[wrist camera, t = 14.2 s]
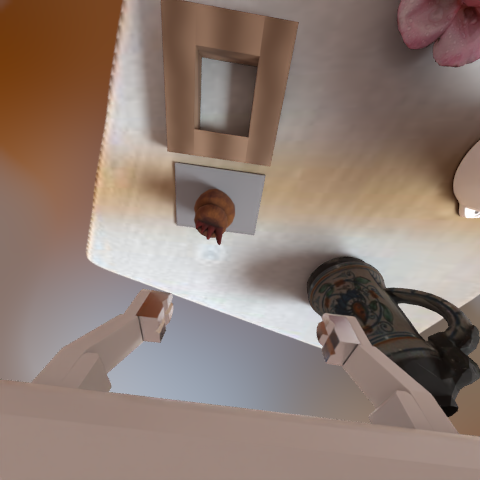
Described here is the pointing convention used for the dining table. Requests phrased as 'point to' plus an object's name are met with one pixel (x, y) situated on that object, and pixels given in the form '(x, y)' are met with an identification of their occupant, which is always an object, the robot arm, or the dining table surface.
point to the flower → (442, 29)
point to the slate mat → (230, 182)
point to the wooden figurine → (213, 213)
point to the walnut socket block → (231, 50)
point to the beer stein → (400, 326)
